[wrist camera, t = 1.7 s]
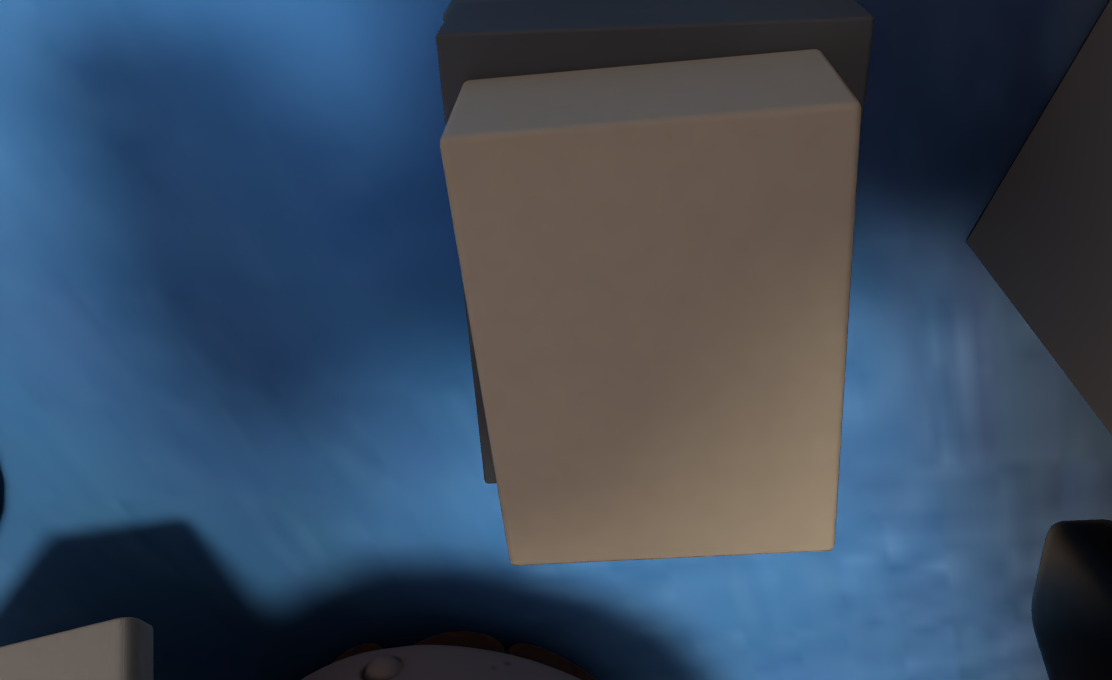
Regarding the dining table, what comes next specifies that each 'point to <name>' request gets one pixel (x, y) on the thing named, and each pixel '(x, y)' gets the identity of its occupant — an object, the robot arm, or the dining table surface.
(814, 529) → the taupe flat block
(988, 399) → the dining table surface
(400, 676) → the flowerpot
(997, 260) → the perfume bottle
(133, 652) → the crown molding
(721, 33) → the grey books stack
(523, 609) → the dining table surface
